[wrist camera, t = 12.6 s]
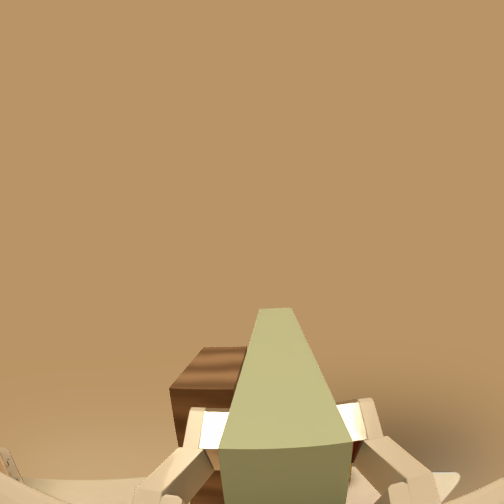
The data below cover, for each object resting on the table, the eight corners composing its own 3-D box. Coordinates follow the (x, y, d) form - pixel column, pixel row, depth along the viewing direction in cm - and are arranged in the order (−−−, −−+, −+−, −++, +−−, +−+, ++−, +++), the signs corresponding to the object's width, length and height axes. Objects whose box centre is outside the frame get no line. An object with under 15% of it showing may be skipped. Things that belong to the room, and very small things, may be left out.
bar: (342, 523, 6) (353, 441, 6) (228, 529, 6) (217, 448, 6) (291, 338, 30) (290, 307, 30) (260, 339, 30) (259, 308, 30)
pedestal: (314, 548, 25) (323, 384, 26) (202, 549, 25) (169, 388, 27) (305, 482, 41) (305, 343, 42) (219, 484, 41) (203, 347, 43)
